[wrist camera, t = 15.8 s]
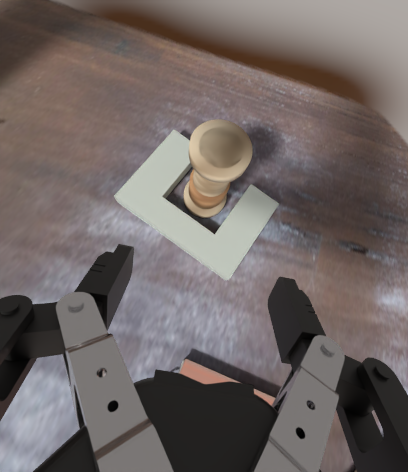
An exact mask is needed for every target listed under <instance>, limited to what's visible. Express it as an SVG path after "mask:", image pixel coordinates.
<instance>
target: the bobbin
mask: <svg viewBox="0 0 408 472" xmlns="http://www.w3.org/2000/svg"><path fill="white" fill-rule="evenodd" d="M251 158H252V144H251V141H250V138H249V137H248V135H247V134H246V132H245V131H244V130H243V129H242V128H241V127H239V126H238V125H236V124H234V123H232V122H230V121H226V120H220V119H216V120H210V121H207V122H204V123H202V124H201V125H199V126H198V127H197V128H196V129H195V130H194V132H193V133H192V135H191V138H190V143H189V160H190V163H191V165H192V167H193V171H192V173H191V176H190V181H189V182H188V183H187V185H186V187H185V190H184V203H185V206H186V208H187V209H188V211H189V212H190V213H192V214H193V215H195V216H197V217H200V218H211V217H213V216H215V215H217V214H218V213H219V212H220V211H221V210H222V208H223V207H224V205H225V203H226V198H227V194H226V193H227V191H228V190H229V187H230V182H231V181H233V180H236V179H237V178H239V177H240V176H241V175H242V174H243V173H244V171H245V170H246V168H247V166H248V165H249V163H250V161H251Z"/></svg>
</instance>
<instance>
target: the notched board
mask: <svg viewBox="0 0 408 472" xmlns="http://www.w3.org/2000/svg"><path fill="white" fill-rule="evenodd" d="M189 143H190V140H188V139H187V138H185V137H184V136H183V135H181V134H180V133H178V132H177V131H176V130H173V131H172V132H171V134H170V135H169V136H168V137H167V138H166V139H165V140H164V141H163V142H162V144H161V145H160V146H159V147H158V148H157V149H156V150H155V151H154V152H153V154H152V155H151V156H150V157H149V158H148V159H147V160H146V161H145V162H144V164H143V165H142V166H141V167H140V168H139V169H138V170H137V171H136V172H135V174H134V175H133V176H132V177H131V178H130V179H129V180H128V181H127V182H126V184H125V185H124V186H123V187H122V188H121V189H120V190H119V191H118V192H117V194H116V195H115V196H114V197H115V199H116V200H117V202H118V203H119V204H121V205H122V206H123V207H125V208H126V209H128V210H129V211H130V212H132V213H133V214H134V215H136V216H137V217H139V218H140V219H141V220H143V221H144V222H145V223H147V224H148V225H150V226H151V227H152V228H154V229H155V230H157V231H158V232H159V233H161V234H162V235H163V236H165V237H166V238H168V239H169V240H170V241H172V242H173V243H174V244H176V245H177V246H179V247H180V248H181V249H183V250H184V251H185V252H187V253H188V254H190V255H191V256H192V257H194V258H195V259H196V260H198V261H199V262H201V263H202V264H203V265H205V266H206V267H207V268H209V269H210V270H212V271H213V272H214V273H216V274H217V275H219V276H220V277H221V278H223V279H224V280H229V279H230V277H231V276H232V274H233V273H234V271H235V270H236V268H237V267H238V265H239V264H240V262H241V261H242V259H243V258H244V256H245V255H246V253H247V252H248V250H249V249H250V247H251V246H252V244H253V243H254V241H255V240H256V238H257V237H258V235H259V234H260V232H261V231H262V229H263V228H264V226H265V225H266V223H267V222H268V220H269V218H270V217H271V215H272V214H273V212H274V211H275V209H276V208H277V206H278V205H279V203H277V202H276V201H274V200H273V199H272V198H270V197H269V196H267V195H266V194H265V193H263V192H262V191H260V190H259V189H257V188H256V187H255V186H253V185H252V184H251V185H250V186H249V187H248V189H247V190H246V192H245V193H244V194H243V196H242V197H241V199H240V200H239V201H238V203H237V204H236V205H235V207H234V208H233V210H232V211H231V212H230V214H229V215H228V217H227V218H226V219H225V221H224V222H223V224H222V225H221V226H220V228H219V229H218V230H217V232H216V233H215V234H213V233H212V232H211V231H209V230H208V229H206V228H205V227H204V226H202V225H201V224H199V223H198V222H197V221H195V220H194V219H193V218H191V217H190V216H188V215H187V214H186V213H184V212H183V211H181V210H180V209H179V208H177V207H176V206H174V205H173V204H172V203H170V202H169V201H168V200H166V198H167V196H168V195H169V194H170V193H171V192H172V190H173V189H174V188H175V187H176V185H177V184H178V183H179V182H180V181H181V179H182V178H183V177H184V176H185V175H186V173H187V172H188V171H189V170H190V169H191V167H192V165H191V163H190V160H189Z"/></svg>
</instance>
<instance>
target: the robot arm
mask: <svg viewBox="0 0 408 472" xmlns="http://www.w3.org/2000/svg"><path fill="white" fill-rule="evenodd" d="M133 255H134V247H131V246H126V245H121V244H119V245H118V246H117V248H116V250H115V251H114V253H112V252H105V253H103V254H102V255H100V256H99V257H98V258H97V260H96V261H95V262H94V265H92V267H91V268H90V271H88V273H87V274H86V275H85V277H84V278H83V280H82V281H81V283H80V284H79V286H78V287H77V289H76V290H75V291H74V292H73V293H70V294H67V295H65V296H64V297H62V298H61V299H60V300H59V301H58V302H55V303H45V304H32V301H31V299H29V298H28V297H26V296H22V295H12V296H7V297H4V298H1V299H0V421H1V419H2V417H3V416H4V414H5V412H6V410H7V409H8V407H9V405H10V404H11V402H12V400H13V398H14V397H15V395H16V393H17V392H18V390H19V388H20V386H21V385H22V383H23V381H24V380H25V378H26V376H27V374H28V373H29V371H30V369H31V368H32V366H33V364H34V362H35V361H36V359H37V358H39V357H46V356H53V355H60V354H62V356H63V360H64V364H65V369H66V373H67V377H68V381H69V386H70V390H71V395H72V400H73V405H74V410H75V415H76V419H77V423H78V428H79V430H78V431H77V432H76V433H75V434H74V435H73V436H72V437H71V438H70V439H68V440H67V441H66V442H65V443H64V444H63V445H62V446H61V447H60V448H59V449H57V450H56V451H55V452H54V453H53V454H52V455H51V456H50V457H49V458H47V459H46V460H45V461H44V462H43V463H42V464H41V465H40V466H39V467H38V468H36V469H35V470H34V471H33V472H321V470H320V465H321V461H322V458H323V454H324V450H325V447H326V443H327V439H328V436H329V432H330V428H331V425H332V421H333V418H334V414H335V410H337V413H338V416H339V419H340V422H341V425H342V428H343V431H344V434H345V437H346V440H347V443H348V446H349V449H350V452H351V455H352V458H353V461H354V464H355V467H356V470H357V472H408V395H407V393H406V391H405V390H404V388H403V386H402V385H401V383H400V381H399V380H398V378H397V376H396V375H395V373H394V372H393V371H392V370H391V369H390V368H389V367H388V366H387V365H386V364H384V363H383V362H381V361H379V360H377V359H375V358H366V359H365V360H364V361H363V362H362V363H361V362H359V361H356V360H354V359H352V358H350V357H348V356H346V355H344V353H343V351H342V349H341V348H340V346H339V345H338V344H337V343H336V342H335V341H333V340H332V339H330V338H328V337H326V335H325V333H324V330H323V328H322V326H321V324H320V322H319V320H318V317H317V315H316V314H315V311H314V309H313V307H312V304H311V302H310V300H309V298H308V297H307V296H306V294H305V293H304V292H303V291H302V290H299V289H298V286H297V284H296V282H295V280H294V279H289V278H284V277H279V278H278V280H277V282H276V284H275V286H274V288H273V290H272V292H271V294H270V296H269V298H268V309H269V313H270V317H271V321H272V325H273V329H274V333H275V337H276V341H277V345H278V349H279V353H280V357H281V361H282V363H287V364H291V367H292V369H291V370H290V372H289V374H288V376H287V378H286V379H285V381H284V383H283V385H282V387H281V389H280V391H279V393H278V395H277V397H276V399H275V400H274V402H273V404H272V406H271V405H270V404H269V403H268V402H267V401H265V400H264V399H263V398H261V397H259V396H258V395H256V394H254V388H253V385H250V384H244V383H237V382H231V381H228V382H220V383H212V384H203V383H201V382H198V381H196V380H194V379H192V378H189V377H187V376H185V375H183V374H180V373H174V372H168V371H162V370H156V371H155V375H154V377H153V378H147V379H143V380H140V381H138V382H135V383H133V382H132V379H131V377H130V375H129V372H128V370H127V367H126V365H125V363H124V360H123V358H122V355H121V353H120V351H119V348H118V346H117V343H116V341H115V339H114V337H113V335H112V334H108V332H107V330H108V328H109V326H110V324H111V321H112V319H113V317H114V315H115V312H116V310H117V308H118V305H119V303H120V301H121V299H122V296H123V294H124V292H125V290H126V287H127V285H128V283H129V280H130V277H131V273H132V266H133ZM373 410H375V412H376V415H377V417H378V419H379V421H380V423H381V426H382V428H383V432H384V438H383V437H382V435H381V433H380V430H379V428H378V426H377V424H376V421H375V419H374V417H373V415H372V412H371V411H373Z"/></svg>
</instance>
